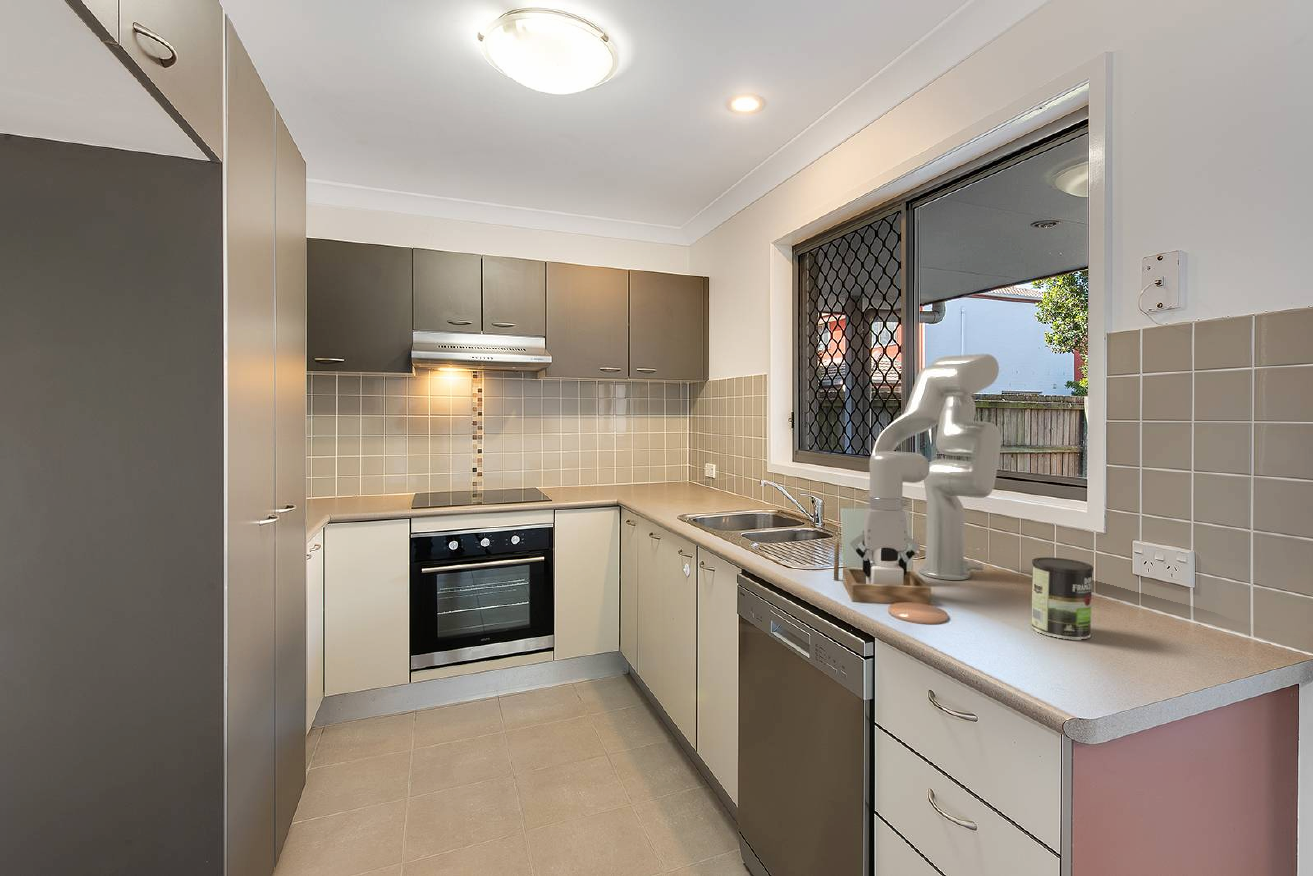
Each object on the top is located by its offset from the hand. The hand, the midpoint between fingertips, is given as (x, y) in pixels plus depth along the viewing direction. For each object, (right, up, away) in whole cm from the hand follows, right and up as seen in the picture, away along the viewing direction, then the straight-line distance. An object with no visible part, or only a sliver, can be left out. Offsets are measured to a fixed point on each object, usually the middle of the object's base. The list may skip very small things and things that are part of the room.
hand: (884, 575), depth 149 cm
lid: (+2, +8, +10) cm, 13 cm away
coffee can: (+26, -6, -25) cm, 37 cm away
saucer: (+2, -5, -15) cm, 16 cm away
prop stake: (-8, -4, +12) cm, 15 cm away
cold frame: (0, -4, 0) cm, 4 cm away
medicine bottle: (0, -5, 0) cm, 5 cm away
